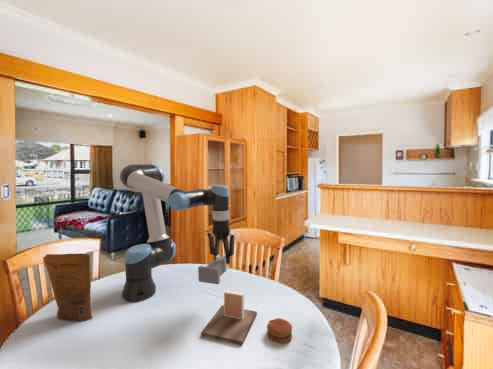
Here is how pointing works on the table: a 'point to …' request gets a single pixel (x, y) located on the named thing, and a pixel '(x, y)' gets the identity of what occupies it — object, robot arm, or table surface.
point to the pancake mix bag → (70, 285)
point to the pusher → (212, 271)
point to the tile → (234, 304)
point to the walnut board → (229, 327)
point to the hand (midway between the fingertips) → (222, 269)
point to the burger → (279, 330)
